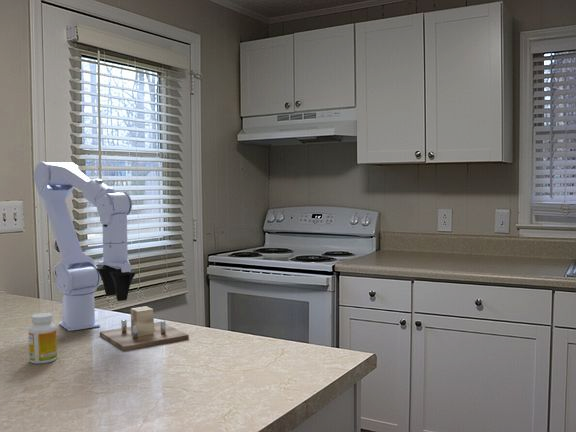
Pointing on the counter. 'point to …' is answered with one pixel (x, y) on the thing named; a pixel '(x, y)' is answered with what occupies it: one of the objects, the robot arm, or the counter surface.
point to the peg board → (133, 341)
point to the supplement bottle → (42, 339)
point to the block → (142, 320)
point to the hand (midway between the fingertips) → (116, 297)
